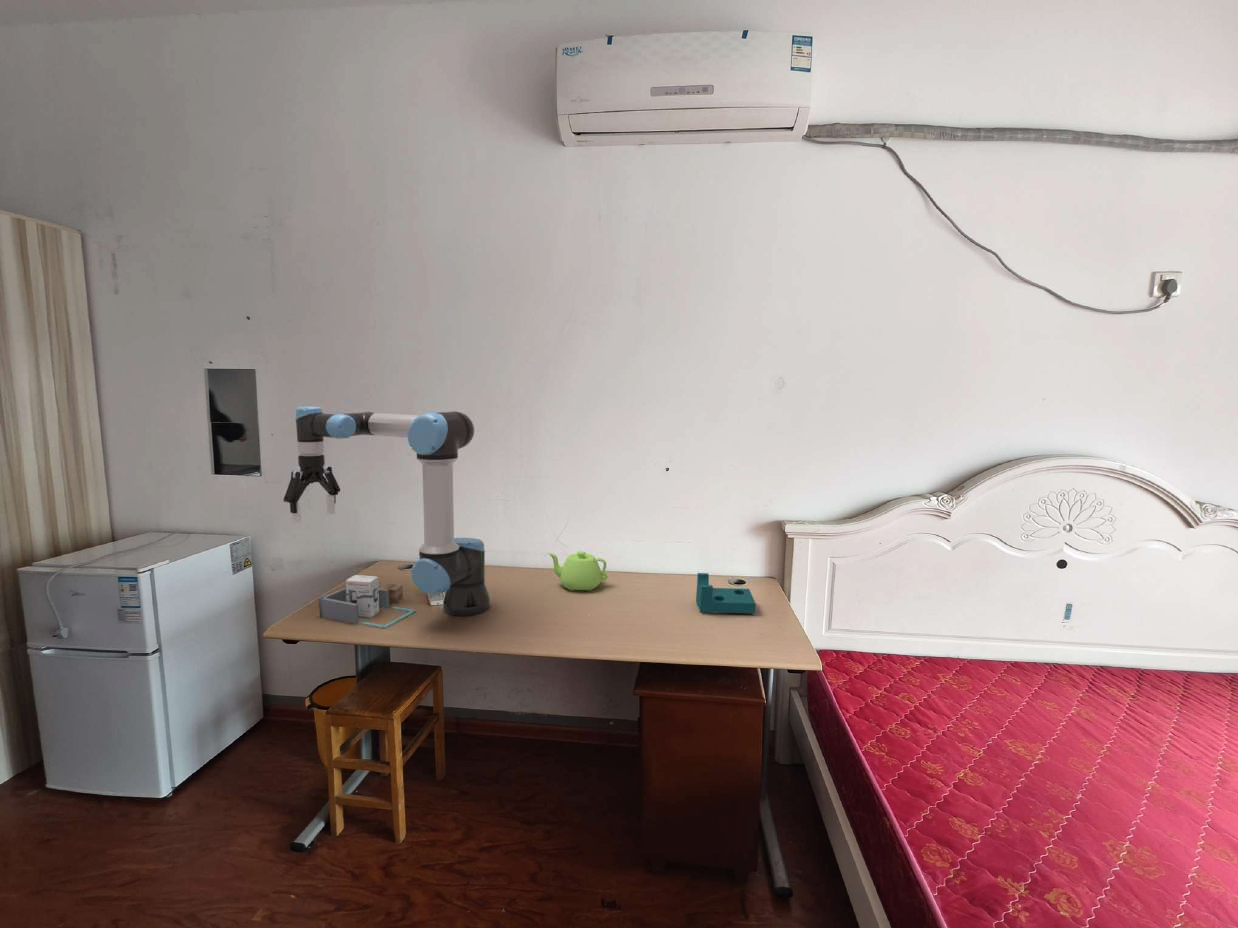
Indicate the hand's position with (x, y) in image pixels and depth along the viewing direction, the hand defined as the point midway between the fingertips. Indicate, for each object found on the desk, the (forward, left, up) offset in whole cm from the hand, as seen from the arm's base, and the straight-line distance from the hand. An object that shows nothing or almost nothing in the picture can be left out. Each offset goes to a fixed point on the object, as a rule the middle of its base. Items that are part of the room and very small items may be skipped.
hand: (314, 518), depth 188 cm
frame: (-32, +3, -28) cm, 42 cm away
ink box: (-22, +4, -28) cm, 36 cm away
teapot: (-75, -45, -28) cm, 92 cm away
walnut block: (-23, -8, -28) cm, 37 cm away
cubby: (-19, +4, -28) cm, 34 cm away
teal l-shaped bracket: (-129, -45, -28) cm, 140 cm away
